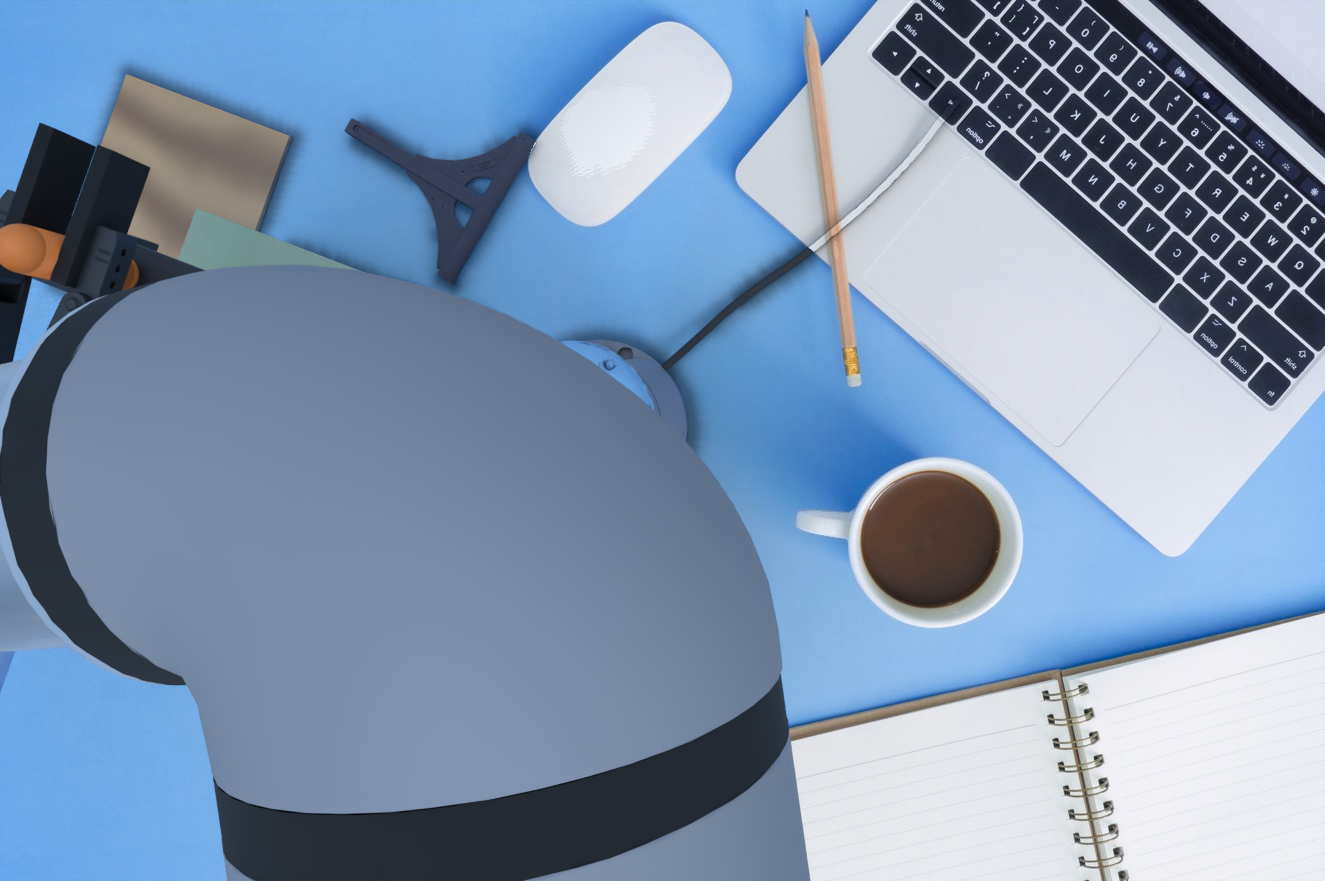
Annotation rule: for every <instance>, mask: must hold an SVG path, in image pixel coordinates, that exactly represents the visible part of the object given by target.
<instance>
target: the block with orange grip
mask: <svg viewBox="0 0 1325 881" xmlns="http://www.w3.org/2000/svg"><path fill="white" fill-rule="evenodd" d="M71 218H72V217H71ZM70 221H71V220H70ZM69 224H70V223H69ZM68 227H69V226H68ZM67 230H68V228H67ZM66 232H67V231H66ZM65 235H66V234H65ZM65 235H62V234H58V233H55V232H51V231H48V230H44V229H41V228H37V227H34V226H31V225H27V224H18V223H17V224H10V225H7V226H5V227H3V228H1V229H0V264H1V265H2V266H3V267H5V268H6V269H8V270H10V271H13V272H16V273H19V274H24V275H29V276H32V280H35V281H37V282H40V283H42V284H45V285H48V286H50V287H53V288H55V289H57V290H60V291H63V292H66V293H68V292H72V291H73V289H74V288H72V287H68V286H64V285H61V284H59V283H56V282H53V281H51V280H50V278H51V275H52V272H53V269H54V266H55V264H56V262H57V259H58V255H59V252H60V249H61V247H62V244H63V241H64V238H65ZM128 235H129V234H128ZM130 236H132V235H130ZM133 237H135V236H133ZM158 247H159V245H158V244H156V243H153V242H151V241H148V240H144V239H141V238H138V237H136V252H135V255H134V257H133V260H132V263H131V266H130V268H129V271H128V274H127V277H126V280H125V283H124V285H123V288H122V290H126V289H130V288H134V287H138V286H142V285H146V284H150V283H154V282H158V281H162V280H165V279H169V278H173V277H178V276H182V275H187V274H191V273H195V272H201V271H206V270H203V269H201V268H198V267H196V266H193V265H190V264H188V263H185V262H183V261H180V260H178V259H175V258H172V257H170V256H167V255H165V254H162V253H159V252H157V250H158Z"/></svg>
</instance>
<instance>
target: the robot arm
mask: <svg viewBox="0 0 1325 881" xmlns="http://www.w3.org/2000/svg"><path fill="white" fill-rule="evenodd" d="M34 134H35V135H34V136H33V140H32V143H31V146H30V148H29V152H28V154H27V157H26V160H25V163H24V166H23V169H22V172H21V173H20V177H19V179H18V183H17V185H16V188H15V191H14V190H11V189H6V191H5V192H4V193H3V194H2V195H1V197H0V229H1V228H3V227H5V226H7V225H10V224H17V223H18V224H27V225H31V226H34V227H37V228H41V229H44V230H48V231H51V232H55V233H58V234H62V235H65V234H66V235H65V238H64V241H63V244H62V247H61V249H60V252H59V255H58V259H57V262H56V264H55V266H54V269H53V272H52V275H51V278H50V280H51V281H53V282H56V283H59V284H61V285H64V286H68V287H72V288H74V289H73V291H72V292H66V293H65V294H64V295H63V296H62V297H61V299H60V301H59V303H58V305H57V307H56V310H55V311H54V312H53V316H52V317H51V320H50V322H49V324H48V326H47V328H46V330H45V331H44V333H43V334H42V336H41V337H39V339H38V340H37V341H36V342H35V343H34V345H33V346H32V347H31V348H30V349H29V351H28V352H27V353H26V355H25V356H24V358H23V359H18V360H14V359H15V358H14V357H15V353H16V349H17V345H18V341H19V337H20V333H21V328H22V323H23V320H24V315H25V311H26V307H27V302H28V298H29V294H30V290H31V285H32V282H33V279H32V276H29V275H24V274H19V273H16V272H13V271H10V270H8V269H6V268H5V267H3V266H2V265H1V264H0V694H1V693H2V690H3V687H4V684H5V681H6V679H7V676H8V673H9V670H10V668H11V665H12V661H13V659H14V656H15V654H16V652H20V651H35V650H36V651H37V650H53V649H67V648H68V649H70V650H72V651H73V652H75V653H76V654H77V655H79V656H81V657H82V658H84V659H85V660H87V661H88V662H90V663H91V664H93V665H94V666H96V667H98V668H100V669H103V670H105V671H107V672H109V673H112V674H114V675H116V676H119V677H121V678H125V679H127V680H132V681H136V682H141V683H144V684H152V685H163V686H186V687H187V688H188V690H189V692H190V694H191V696H192V698H193V700H194V702H195V704H196V706H197V707H196V708H197V710H198V716H199V720H200V724H201V729H202V733H203V737H204V742H205V747H206V752H207V755H208V760H209V765H210V770H211V773H212V781H213V787H214V795H215V802H216V808H217V815H218V822H219V829H220V835H221V846H222V855H223V860H224V861H223V862H224V870H225V875H226V881H811V874H810V868H809V860H808V853H807V846H806V845H807V844H806V839H805V832H804V825H803V824H804V823H803V818H802V811H801V803H800V796H799V790H798V783H797V782H798V781H797V775H796V768H795V761H794V754H793V747H792V740H791V733H790V725H789V718H788V716H787V715H788V714H787V708H786V701H785V700H786V699H785V694H784V693H785V692H784V686H783V679H782V671H783V655H782V647H781V640H780V639H781V638H780V632H779V631H780V630H779V625H778V624H779V623H778V620H777V616H776V610H775V606H774V601H773V596H772V591H771V586H770V582H769V580H768V577H767V575H766V572H765V569H764V567H763V564H762V561H761V559H760V556H759V554H758V550H757V548H756V546H755V543H754V541H753V538H752V536H751V533H750V531H749V530H748V528H747V526H746V524H745V522H744V521H743V519H742V517H741V515H740V514H739V512H738V509H737V508H736V506H735V504H734V503H733V501H732V499H731V498H730V496H729V495H728V494H727V492H726V491H725V490H724V488H723V486H721V484H720V482H719V481H718V479H717V478H716V476H715V474H713V472H712V471H711V469H710V468H709V467H708V465H707V463H706V462H704V460H703V459H702V458H701V457H700V456H699V455H698V454H697V453H696V451H695V450H694V449H693V448H692V447H691V446H690V444H689V443H688V442H687V439H688V416H687V410H686V406H685V403H684V399H683V397H682V394H681V391H680V389H679V387H678V385H677V383H676V382H675V381H674V378H673V377H672V376H671V375H670V373H669V370H670V369H671V368H673V367H674V366H675V365H676V364H677V363H678V362H679V361H680V360H681V359H682V358H684V357H685V356H686V355H687V354H688V353H689V352H690V351H691V350H692V349H694V348H695V347H696V346H697V345H698V344H700V342H701V341H703V340H704V339H705V338H706V337H707V336H708V335H709V334H710V333H711V332H713V331H714V329H715V328H717V327H718V326H719V325H720V324H721V323H722V322H723V321H724V320H726V318H728V317H729V316H730V315H731V314H732V313H734V312H735V311H736V310H737V309H739V307H741V306H742V305H744V304H745V303H746V302H747V301H748V300H750V299H752V297H754V296H756V295H757V294H758V293H759V292H761V291H762V290H763V289H765V288H766V287H768V286H769V285H771V284H772V283H774V282H775V281H776V280H778V279H779V278H781V277H782V276H784V275H785V274H787V273H788V272H789V271H791V270H792V269H793V268H795V267H797V266H798V265H799V264H801V263H802V262H803V261H805V260H806V259H808V258H809V257H811V255H813V254H814V253H815V252H813V251H812V250H811V249H809V248H808V246H807V247H806V248H804V249H803V250H802V251H800V252H799V253H797V254H796V255H795V256H793V257H792V258H790V259H789V260H788V261H786V262H785V263H784V264H781V265H780V266H779V267H778V268H777V269H775V270H773V271H772V272H770V273H769V274H768V275H766V276H765V277H764V278H762V279H761V280H759V281H758V282H756V283H755V284H753V285H752V286H750V287H749V288H748V289H747V290H745V291H744V292H743V293H742V294H740V295H739V296H737V297H736V298H735V299H733V301H731V302H730V303H729V304H727V305H726V306H725V307H724V308H723V309H721V311H720V312H719V313H717V314H716V315H715V316H714V317H713V318H712V319H710V321H709V322H708V323H707V324H706V325H704V326H703V328H701V329H700V330H699V331H698V332H697V333H696V334H695V335H693V337H691V338H690V339H689V340H688V341H687V342H686V343H684V344H683V345H682V346H681V347H680V348H679V349H678V350H677V351H676V352H675V353H673V354H672V355H671V356H670V357H669V358H668V359H666V360H665V362H663V363H662V364H661V363H660V362H659V361H658V360H656V359H655V358H654V357H653V356H651V355H650V354H648V353H647V352H645V351H643V350H642V349H640V348H638V347H636V346H633V345H631V344H629V343H626V342H622V341H617V340H611V339H597V338H596V339H587V340H560V341H559V340H558V339H556V338H555V337H553V336H551V335H549V334H547V333H545V332H543V331H541V330H539V329H537V328H535V327H533V326H531V325H529V324H527V323H525V322H524V321H521V320H519V319H517V318H515V317H513V316H511V315H510V314H506V313H503V312H502V311H499V310H497V309H494V308H491V307H488V306H487V305H484V304H481V303H478V302H476V301H473V300H471V299H470V298H469V299H468V298H467V297H466V298H465V297H462V296H458V295H456V294H453V293H449V292H445V291H442V290H439V289H436V288H433V287H429V286H425V285H422V284H420V283H419V284H418V283H416V282H411V281H407V280H402V279H398V278H393V277H389V276H385V275H380V274H375V273H371V272H366V271H363V270H360V271H358V270H359V269H358V270H353V269H342V268H331V267H320V266H309V265H262V266H245V267H229V268H219V269H213V270H207V271H201V272H195V273H191V274H187V275H182V276H178V277H173V278H169V279H165V280H162V281H158V282H154V283H150V284H146V285H142V286H138V287H134V288H130V289H126V290H122V288H123V285H124V283H125V280H126V277H127V274H128V271H129V268H130V266H131V263H132V260H133V257H134V255H135V252H136V237H133V236H130V235H128V234H127V233H128V230H129V227H130V225H131V222H132V219H133V216H134V213H135V211H136V208H137V205H138V202H139V199H140V197H141V194H142V191H143V188H144V185H145V183H146V180H147V177H148V174H149V171H150V169H151V167H148V166H146V165H144V164H142V163H140V162H137V161H135V160H133V159H131V158H129V157H126V156H124V155H122V154H120V153H118V152H115V151H113V150H111V149H108V148H106V147H103V146H101V144H97V145H94V144H91V143H89V142H87V141H85V140H83V139H80V138H79V137H76V136H73V135H71V134H70V133H67V132H64V131H62V130H60V129H59V128H55V127H53V126H50V125H47V124H45V123H44V122H43V123H42V122H39V123H38V126H37V128H36V130H35V133H34ZM71 217H72V218H71ZM70 220H71V221H70ZM69 223H70V224H69ZM68 226H69V227H68ZM67 228H68V230H67ZM66 231H67V232H66ZM362 271H363V272H362Z"/></svg>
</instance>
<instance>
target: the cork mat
mask: <svg viewBox="0 0 1325 881" xmlns="http://www.w3.org/2000/svg"><path fill="white" fill-rule="evenodd" d="M292 139H293V137H292V136H291V135H289V134H287V133H284V132H281V131H279V130H276V129H273V128H270V127H268V126H265V125H263V124H260V123H258V122H254V121H252V120H249V119H247V118H244V117H242V116H239V115H236V114H233V113H231V112H228V111H225V110H223V109H220V108H218V107H215V106H213V105H209V104H207V103H204V102H202V101H199V100H196V99H193V98H191V97H189V96H187V95H184V94H181V93H178V92H175V91H173V90H171V89H168V88H165V87H162V86H160V85H157V84H154V83H152V82H149V81H146V80H145V79H141V78H139V77H135V76H133V75H131V74H128V73H126V74H125V75H124V79H123V81H122V84H121V87H120V90H119V93H118V96H117V98H116V101H115V103H114V107H113V110H112V112H111V115H110V118H109V121H108V124H107V126H106V130H105V132H104V135H103V138H102V139H101V140H102V141H101V143H100V146H103V147H106V148H108V149H111V150H113V151H115V152H118V153H120V154H122V155H124V156H126V157H129V158H131V159H133V160H135V161H137V162H140V163H142V164H144V165H146V166H148V167H151V169H150V171H149V174H148V177H147V180H146V183H145V185H144V188H143V191H142V194H141V197H140V199H139V202H138V205H137V208H136V211H135V213H134V216H133V219H132V222H131V225H130V227H129V230H128V233H127V234H129V235H132V236H135V237H138V238H141V239H144V240H148V241H151V242H153V243H156V244H158V245H159V247H158V250H157V252H159V253H162V254H165V255H167V256H170V257H172V258H175V259H178V258H179V255H180V252H181V249H182V247H183V244H184V241H185V238H186V236H187V233H188V230H189V227H190V224H191V222H192V219H193V216H194V213H195V211H196V208H198V209H201V210H204V211H206V212H209V213H211V214H214V215H217V216H219V217H222V218H224V219H227V220H230V221H232V222H235V223H238V224H240V225H243V226H245V227H248V228H251V229H253V230H256V231H258V232H260V228H261V225H262V222H263V219H264V217H265V214H266V211H267V208H268V206H269V203H270V200H271V198H272V196H273V192H274V190H275V188H276V184H277V182H278V179H279V175H280V173H281V170H282V168H283V165H284V162H285V159H286V156H287V154H288V151H289V148H290V147H291V146H290V145H291V143H292Z"/></svg>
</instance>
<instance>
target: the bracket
mask: <svg viewBox="0 0 1325 881" xmlns="http://www.w3.org/2000/svg"><path fill="white" fill-rule="evenodd" d="M344 132H345V133H346V134H347V135H349V136H350V137H352V138H353V139H354V140H356V141H358V142H359V143H361V144H362V145H364V146H366V147H368V148H369V149H370V150H372V151H374V152H376V153H377V154H379V155H381V156H382V157H384V158H385V159H386V160H389V161H391V162H392V163H394V164H395V165H397V166H399V167H400V168H402V169H403V170H406V175H408V176H409V178H410V179H411V180H412V181H413V182H414V183H415V185H416V186H417V187H418V188H419V190H420V191H421V193H422V194H423V196H424V197H425V199H426V202H428V204H429V206H430V209H431V211H432V215H433V219H434V222H435V226H436V233H437V234H436V235H437V257H436V258H437V259H436V269H437V270H438V272H437V274H436V276H438V277H440V278H441V279H443V280H444V281H446V282H448V283H450V284H451V285H454V284H455V282H456V281H457V279H458V277H459V276H460V274H461V273H462V270H463V269H464V267H465V265H466V263H467V262H468V260H469V258H470V257H471V255H472V254H473V252H474V250H475V248H476V246H478V243H479V242H480V240H481V238H482V236H483V235H484V234H485V231H486V230H487V228H488V226H489V225H490V223H491V221H492V219H493V218H494V216H495V214H496V213H497V212H498V210H499V207H500V206H501V204H502V202H503V201H504V199H505V198H506V196H507V195H508V193H509V191H510V189H511V187H512V186H513V184H514V182H515V181H516V179H517V177H518V175H519V174H520V172H521V170H522V168H523V167H524V165H525V164H526V162H527V160H528V158H529V157H530V156H531V153H532V152H531V149H532V148H533V145H534V143H535V142H536V143H537V141H536V140H535V139H534V138H533V137H531V136H530V135H528V134H526V133H524V132H523V131H520V132H519V133H518V135H513V136H511V137H510V138H509V139H507V140H506V141H504V142H503V143H500V144H499V145H498V146H497V147H494V148H493V149H491V150H488V151H485V152H484V153H481V154H478V155H475V156H471V157H467V158H462V159H440V158H433V157H428V156H425V155H421V154H416V155H413V154H411V153H410V152H408V151H406V150H405V149H403V148H402V147H400V146H398V145H396V144H395V143H394V142H392V141H390V140H389V139H387V138H385V137H384V136H383V135H381V134H380V133H378V132H376V131H374V130H373V129H371V128H370V127H368V126H366V125H365V124H363V123H362V122H360V121H358V120H357V119H355V118H353V117H352V118H350V119H349V122H348V123H347V125H346V127H345V128H344ZM533 149H534V148H533ZM530 152H531V153H530ZM477 179H489V180H491V182H490V183H489V185H488V187H487V188H486V189H485V191H484V193H483V194H478V193H477V192H475V191H473V190H471V189H470V188H468V187H467V185H468V184H469V183H471V182H472V181H474V180H477ZM457 202H459V203H461V204H462V205H464V206H465V207H467V208H468V209H470V210H472V213H471V215H470V217H469V219H468V220H467V222H466V224H465V226H462V225H461V223H459V221H458V218H457V217H456V204H457Z"/></svg>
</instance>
